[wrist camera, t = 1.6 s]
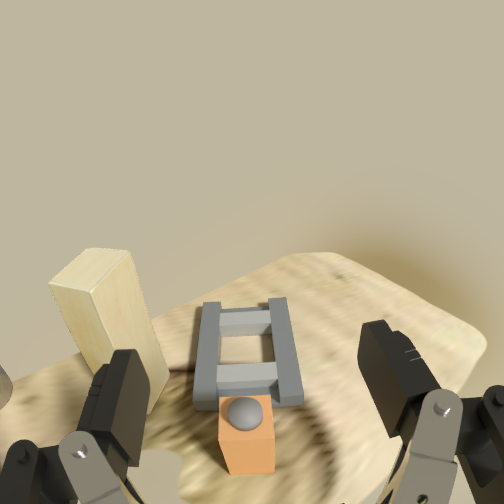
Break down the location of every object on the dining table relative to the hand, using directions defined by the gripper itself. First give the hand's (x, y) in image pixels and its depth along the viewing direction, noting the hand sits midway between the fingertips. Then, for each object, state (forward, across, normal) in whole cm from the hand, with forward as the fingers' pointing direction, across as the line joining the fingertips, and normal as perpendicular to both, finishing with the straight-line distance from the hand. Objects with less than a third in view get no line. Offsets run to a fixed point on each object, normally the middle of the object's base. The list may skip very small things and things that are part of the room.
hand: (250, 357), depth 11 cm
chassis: (+27, +1, +26) cm, 38 cm away
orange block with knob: (+10, +2, +28) cm, 30 cm away
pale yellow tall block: (+22, +17, +26) cm, 38 cm away
